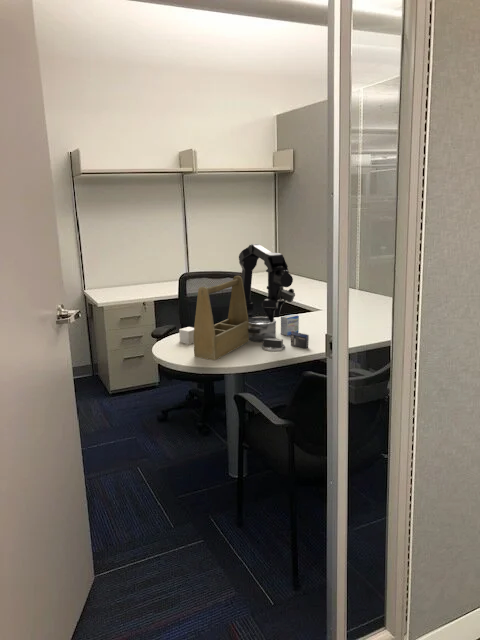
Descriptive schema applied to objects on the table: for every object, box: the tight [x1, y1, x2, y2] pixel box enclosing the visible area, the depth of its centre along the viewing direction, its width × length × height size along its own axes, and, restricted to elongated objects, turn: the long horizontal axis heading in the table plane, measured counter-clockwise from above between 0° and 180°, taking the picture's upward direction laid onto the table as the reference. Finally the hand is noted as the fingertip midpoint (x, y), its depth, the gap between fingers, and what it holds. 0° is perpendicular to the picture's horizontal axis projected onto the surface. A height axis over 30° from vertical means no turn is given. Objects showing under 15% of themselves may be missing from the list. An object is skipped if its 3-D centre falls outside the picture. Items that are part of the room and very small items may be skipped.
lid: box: [260, 338, 286, 352], centre depth 221 cm, size 10×10×4 cm
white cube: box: [179, 326, 194, 345], centre depth 232 cm, size 6×6×6 cm
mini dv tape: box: [290, 332, 310, 350], centre depth 222 cm, size 8×2×6 cm, turn 48°
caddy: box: [193, 275, 249, 361], centre depth 217 cm, size 29×11×30 cm, turn 151°
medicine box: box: [280, 314, 300, 336], centre depth 242 cm, size 8×4×9 cm, turn 129°
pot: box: [248, 316, 277, 343], centre depth 236 cm, size 14×19×8 cm
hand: (274, 319), depth 219 cm, fingers open, 9 cm apart
